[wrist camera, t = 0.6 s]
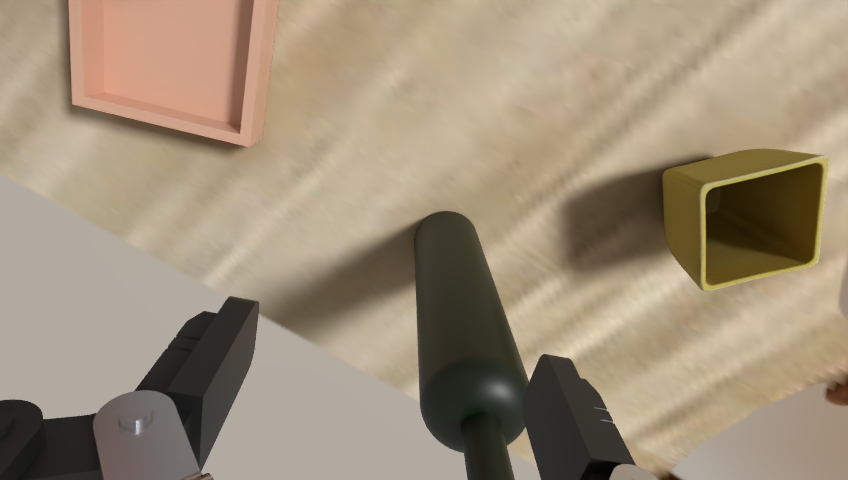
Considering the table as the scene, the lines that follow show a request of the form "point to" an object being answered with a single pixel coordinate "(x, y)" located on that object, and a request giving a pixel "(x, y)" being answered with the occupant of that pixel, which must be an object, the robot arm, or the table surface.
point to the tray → (176, 63)
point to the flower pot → (745, 215)
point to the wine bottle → (465, 349)
